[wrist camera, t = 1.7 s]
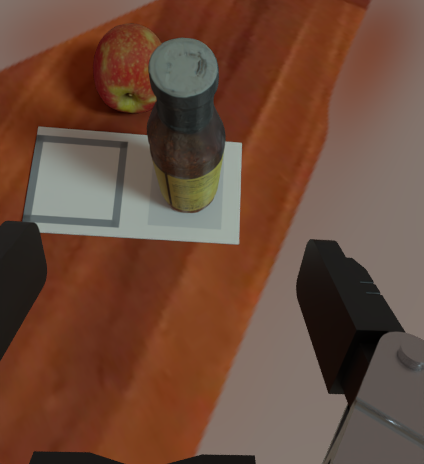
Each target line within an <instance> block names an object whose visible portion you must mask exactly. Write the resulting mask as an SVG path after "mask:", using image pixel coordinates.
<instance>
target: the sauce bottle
mask: <svg viewBox="0 0 424 464" xmlns="http://www.w3.org/2000/svg"><path fill="white" fill-rule="evenodd" d="M148 72H149V79H150V84H151V89H152V91H153V93H154V95H155V96H156V100H157V101H156V102H155V104H154V106H153V109H152V112H151V115H150V117H149V120H148V123H147V137H148V142H149V145H150V154H151V157H152V161H153V165H154V168H155V172H156V176H157V179H158V183H159V187H160V190H161V193H162V195H163V197H164V199H165V200H166V201H167V203H168V204H169V205H170V206H171V207H172V208H173V209H174V210H176V211H179V212H182V213H196V212H199V211H201V210H203V209H204V208H206V207H207V206H208V205H209V204H210V203H211V202H212V201H213V199H214V197H215V195H216V192H217V189H218V184H219V178H220V172H221V167H222V161H223V155H224V149H225V129H224V126H223V123H222V121H221V119H220V117H219V115H218V113H217V111H216V109H215V107H214V104H213V98H214V94H215V92H216V90H217V87H218V80H219V74H218V64H217V59H216V58H215V56H214V54H213V52H212V51H211V50H210V49H209V48H208V47H207V46H206V45H205V44H203V43H202V42H200V41H198V40H195V39H190V38H177V39H172V40H169V41H166V42H164V43H162V44H161V45H160V46H158V47H157V48H156V49H155V51H154V52H153V53H152V55H151V57H150V60H149V65H148Z"/></svg>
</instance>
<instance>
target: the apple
mask: <svg viewBox="0 0 424 464" xmlns="http://www.w3.org/2000/svg"><path fill="white" fill-rule="evenodd" d="M160 45H161V42H160V40H159V39H158V37H157V36H156V35H155V34H154V33H153V32H152V31H151V30H149V29H148V28H146V27H144V26H141V25H138V24H133V23H131V24H123V25H119V26H116V27H114V28H113V29H111V30H110V31H109V32H107V33H106V34H105V35H104V36H103V38H102V39H101V41H100V42H99V45H98V47H97V50H96V53H95V56H94V64H93V74H94V81H95V86H96V89H97V92H98V94H99V95H100V97H101V99H102V100H103V101H104V102H105V104H107V105H108V106H109V107H111V108H113V109H115V110H117V111H121V112H126V113H143V112H147V111H149V110H151V109H153V106H154V104H155V102H156V101H157V100H156V96H155V95H154V93H153V91H152V89H151V84H150V79H149V72H148V65H149V60H150V57H151V55H152V53H153V52H154V51H155V49H156V48H157V47H158V46H160Z"/></svg>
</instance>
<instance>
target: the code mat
mask: <svg viewBox="0 0 424 464" xmlns="http://www.w3.org/2000/svg"><path fill="white" fill-rule="evenodd" d="M241 155H242V143H235V142H225V149H224V155H223V161H222V167H221V172H220V178H219V184H218V189H217V192H216V195H215V197H214V199H213V201H212V202H211V203H210V204H209V205H208V206H207V207H206V208H204V209H203V210H201V211H199V212H196V213H182V212H179V211H176V210H174V209H173V208H172V207H171V206H170V205H169V204H168V203H167V201H166V200H165V199H164V197H163V195H162V193H161V190H160V187H159V183H158V179H157V176H156V172H155V168H154V165H153V161H152V157H151V154H150V145H149V142H148V137H147V135H137V134H125V133H112V132H100V131H88V130H75V129H63V128H51V127H38V132H37V138H36V144H35V150H34V156H33V161H32V167H31V173H30V179H29V185H28V191H27V197H26V203H25V209H24V214H23V220H22V222H34V223H36V224H37V226H38V228H39V231H40V233H57V234H73V235H90V236H106V237H123V238H139V239H155V240H172V241H188V242H205V243H221V244H238V245H239V222H240V189H241Z"/></svg>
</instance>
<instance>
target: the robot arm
mask: <svg viewBox="0 0 424 464" xmlns="http://www.w3.org/2000/svg"><path fill="white" fill-rule="evenodd" d="M46 276H47V264H46V259H45V255H44V250H43V245H42V240H41V236H40V231H39V228H38V226H37V224H36V223H34V222H19V221H5V222H4V223H3V224H2V225H1V226H0V361H1V359H2V357H3V355H4V354H5V352H6V350H7V348H8V347H9V345H10V343H11V341H12V340H13V338H14V336H15V335H16V333H17V331H18V329H19V328H20V326H21V324H22V322H23V321H24V319H25V317H26V316H27V314H28V312H29V310H30V309H31V307H32V305H33V303H34V302H35V300H36V298H37V297H38V295H39V293H40V291H41V290H42V288H43V286H44V284H45V281H46ZM373 283H374V282H373V280H372V278H371V277H370V275H369V274H368V272H367V270H366V269H365V268H364V267H362V266H361V265H360V264H359V263H357V262H356V261H355V260H354V259H353V258H346V257H345V255H344V253H343V252H342V250H341V248H340V246H339V245H338V243H337V242H336V241H332V240H314V239H310V240H309V241H308V243H307V245H306V249H305V252H304V256H303V260H302V263H301V267H300V271H299V275H298V278H297V285H296V291H297V299H298V302H299V305H300V308H301V311H302V314H303V317H304V320H305V323H306V326H307V329H308V332H309V335H310V339H311V341H312V345H313V348H314V350H315V354H316V357H317V360H318V363H319V366H320V369H321V372H322V375H323V378H324V381H325V384H326V387H327V390H328V393H329V394H345V397H346V399H347V402H348V404H347V406H346V408H345V410H344V413H343V415H342V418H341V420H340V423H339V425H338V427H337V429H336V432H335V434H334V437H333V439H332V441H331V444H330V446H329V448H328V451H327V453H326V456H325V458H324V460H323V463H322V464H424V340H422V339H420V338H418V337H416V336H414V335H411V334H407V333H405V331H404V329H403V328H402V326H401V324H400V323H399V322H398V320H397V318H396V317H395V315H394V313H393V312H392V310H391V309H390V307H389V306H388V304H387V302H386V301H385V299H384V298H383V296H382V295H380V291H379V290H378V288H377V286H376V285H375V284H373ZM29 464H124V463H121V462H118V461H115V460H111V459H108V458H105V457H102V456H99V455H96V454H93V453H90V452H36V451H34V452H33V455H32V457H31V460H30V463H29ZM169 464H256V463H255V456H251V455H249V456H248V455H199V456H195V457H191V458H187V459H184V460H180V461H176V462H173V463H169Z"/></svg>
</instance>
